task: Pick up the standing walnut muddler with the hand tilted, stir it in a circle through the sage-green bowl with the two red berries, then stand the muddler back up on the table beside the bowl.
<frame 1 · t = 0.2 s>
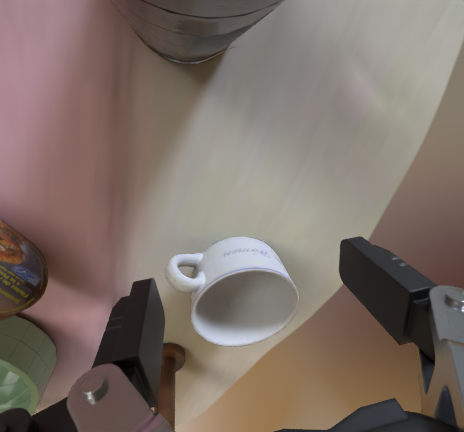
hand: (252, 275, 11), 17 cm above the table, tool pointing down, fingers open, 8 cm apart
muddler: (167, 355, 38), on the table
teacup: (222, 256, 32), on the table
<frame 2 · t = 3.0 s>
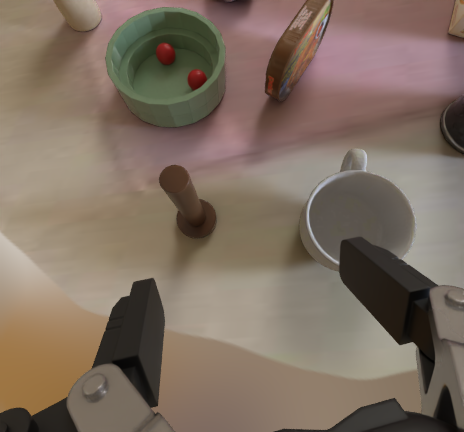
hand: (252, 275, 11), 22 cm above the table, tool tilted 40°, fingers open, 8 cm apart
berry b: (165, 54, 39), point 2 cm above the table, touching bowl
bowl: (174, 83, 40), on the table
tin: (291, 73, 40), on the table
candle: (85, 19, 43), on the table
berry a: (197, 80, 37), point 2 cm above the table, touching bowl
muddler: (197, 219, 34), on the table
teacup: (334, 221, 34), on the table
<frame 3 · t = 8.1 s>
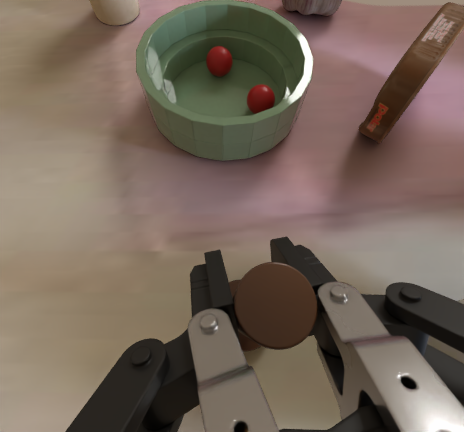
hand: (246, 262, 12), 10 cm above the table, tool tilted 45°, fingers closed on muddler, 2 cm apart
berry b: (219, 61, 28), point 2 cm above the table, touching bowl
bowl: (224, 102, 28), on the table
tin: (386, 109, 29), on the table
candle: (118, 13, 33), on the table
garlic bulb: (307, 10, 35), on the table
berry a: (260, 100, 26), point 2 cm above the table, touching bowl
muddler: (242, 314, 21), on the table, touching gripper
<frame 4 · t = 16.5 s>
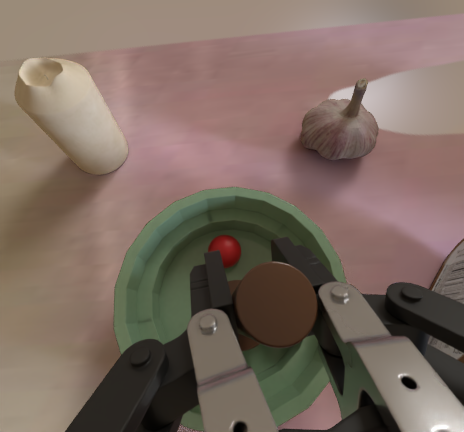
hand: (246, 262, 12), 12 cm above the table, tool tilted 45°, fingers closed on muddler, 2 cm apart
berry b: (224, 251, 22), point 2 cm above the table, touching bowl
bowl: (231, 297, 23), on the table
tin: (433, 302, 23), on the table
candle: (103, 153, 28), on the table
garlic bulb: (331, 144, 29), on the table
muddler: (237, 314, 21), point 2 cm above the table, touching berry a, gripper
when the fingers open (10 cm above the table, at t = 25.9 s): muddler stays where it is, on the table.
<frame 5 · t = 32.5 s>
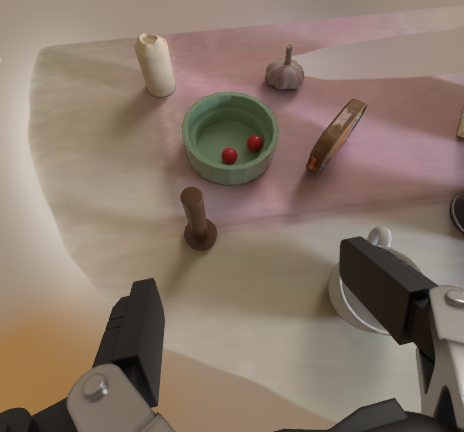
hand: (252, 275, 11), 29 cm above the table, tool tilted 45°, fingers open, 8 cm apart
berry b: (229, 156, 45), point 2 cm above the table, tilted 85°, touching bowl
bowl: (229, 148, 48), on the table
tin: (326, 152, 48), on the table
candle: (161, 87, 53), on the table
garlic bulb: (282, 84, 54), on the table
berry a: (254, 143, 46), point 2 cm above the table, tilted 24°, touching bowl
muddler: (201, 235, 42), on the table
teacup: (357, 283, 40), on the table
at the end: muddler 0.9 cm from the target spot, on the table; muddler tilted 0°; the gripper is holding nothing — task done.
